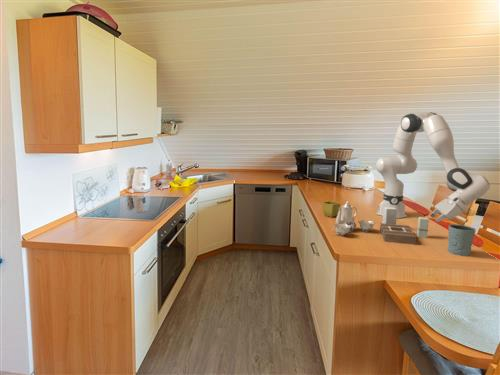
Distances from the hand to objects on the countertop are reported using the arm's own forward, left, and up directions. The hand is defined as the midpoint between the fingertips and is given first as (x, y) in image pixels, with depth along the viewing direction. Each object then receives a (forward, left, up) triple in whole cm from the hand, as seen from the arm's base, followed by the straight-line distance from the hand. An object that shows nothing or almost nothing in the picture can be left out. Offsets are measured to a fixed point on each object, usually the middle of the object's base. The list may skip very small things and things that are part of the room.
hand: (433, 218), depth 163 cm
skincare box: (-10, -19, -10) cm, 24 cm away
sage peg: (0, -4, -10) cm, 11 cm away
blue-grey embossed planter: (+20, +7, -10) cm, 23 cm away
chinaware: (+3, -41, -11) cm, 42 cm away
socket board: (+5, -17, -10) cm, 21 cm away
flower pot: (-27, -52, -10) cm, 60 cm away
